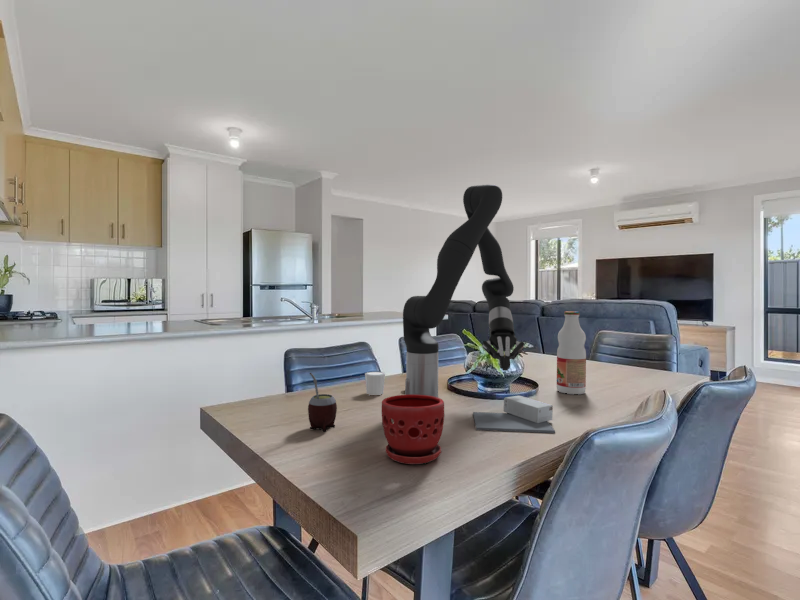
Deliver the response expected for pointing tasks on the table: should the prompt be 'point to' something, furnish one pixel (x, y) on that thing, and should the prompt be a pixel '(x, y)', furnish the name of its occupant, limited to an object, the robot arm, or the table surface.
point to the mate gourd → (321, 410)
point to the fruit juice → (571, 356)
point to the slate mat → (509, 423)
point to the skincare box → (528, 409)
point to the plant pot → (413, 427)
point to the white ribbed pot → (374, 383)
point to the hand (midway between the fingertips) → (505, 369)
